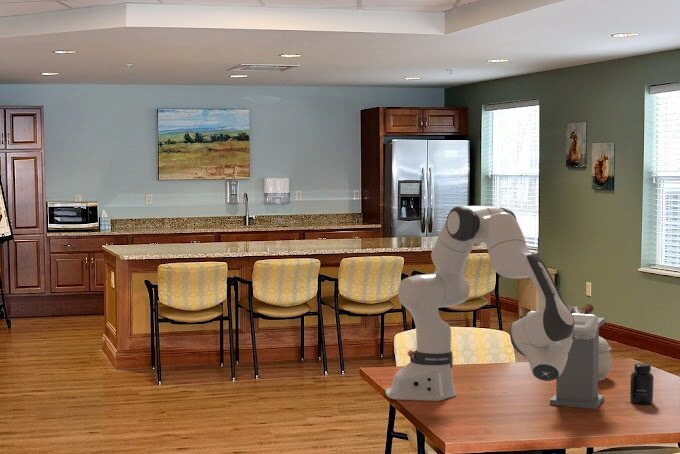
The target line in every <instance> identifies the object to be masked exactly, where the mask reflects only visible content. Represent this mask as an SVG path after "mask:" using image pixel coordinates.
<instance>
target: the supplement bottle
mask: <svg viewBox="0 0 680 454" xmlns="http://www.w3.org/2000/svg"><path fill="white" fill-rule="evenodd" d="M651 367H652V365H651V364H649V363H645V362H644V363H643V362H637V363H636V362H635V363H634V371H633V372H632V373H631V374H630V388H629V389H630V390H629V391H630V392H629V401H630V402H631V403H632V404H634V405H643V406H648V405H651V404H653V402H654V400H653V399H654V383H655V382H654V381H655V379H654V375H653V373H651Z"/></svg>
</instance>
